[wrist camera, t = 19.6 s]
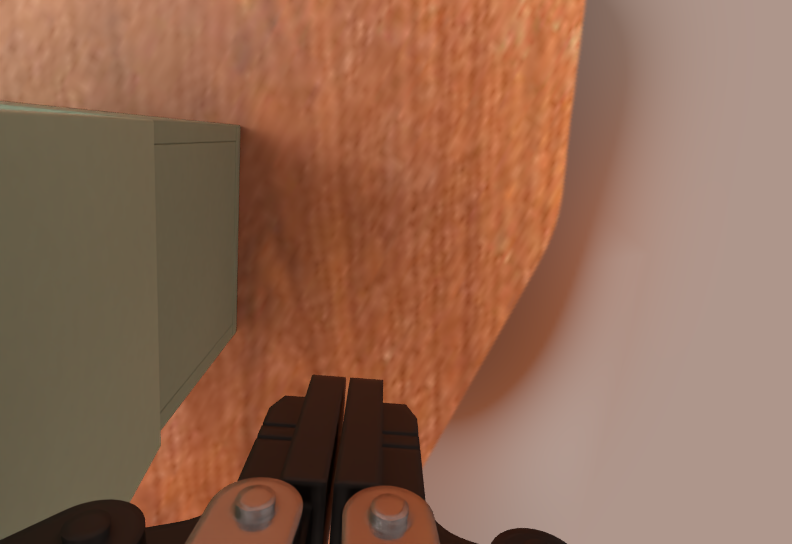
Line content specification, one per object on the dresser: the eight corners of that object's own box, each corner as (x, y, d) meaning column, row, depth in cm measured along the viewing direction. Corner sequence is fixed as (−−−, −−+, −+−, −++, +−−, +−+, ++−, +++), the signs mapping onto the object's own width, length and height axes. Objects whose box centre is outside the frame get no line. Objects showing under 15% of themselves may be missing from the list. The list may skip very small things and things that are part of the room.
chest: (-5, 311, 29) (-224, 410, 19) (-28, 98, 26) (-303, 73, 16) (236, 331, 30) (155, 438, 19) (240, 125, 27) (147, 118, 16)
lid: (-405, 1326, 5) (-307, 1308, 5) (-1312, 26, 2) (-1026, 51, 2) (138, 445, 19) (161, 445, 19) (126, 116, 16) (154, 119, 16)
